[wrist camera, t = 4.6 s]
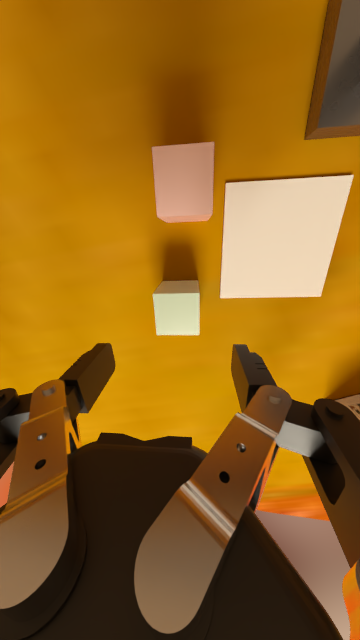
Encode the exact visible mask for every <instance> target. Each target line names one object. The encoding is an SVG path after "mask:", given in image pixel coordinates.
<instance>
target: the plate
mask: <svg viewBox="0 0 360 640" xmlns="http://www.w3.org/2000/svg"><path fill="white" fill-rule="evenodd" d="M353 176H354V175H346V176H330V177H314V178H298V179H282V180H266V181H250V182H234V183H226V184H225V204H224V224H223V244H222V264H221V284H220V298H256V297H321V293H322V289H323V286H324V282H325V278H326V275H327V271H328V267H329V264H330V260H331V256H332V253H333V249H334V245H335V242H336V238H337V234H338V231H339V227H340V224H341V220H342V216H343V213H344V209H345V205H346V202H347V198H348V194H349V191H350V187H351V183H352V180H353Z"/></svg>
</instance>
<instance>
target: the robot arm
mask: <svg viewBox="0 0 360 640" xmlns="http://www.w3.org/2000/svg"><path fill="white" fill-rule="evenodd" d="M114 370H115V360H114V355H113V351H112V346H111V344H110V343H98V344H96V345H95V347H94V348H93V349H92V350H91V351H88V352H86V353H85V354H83V355H82V356H81V357H80V358H79V359H78V360H77V361H76V362H75V363H74V364H73V366H71V367H70V368H69V369H68V370H67V371H66V372H65V373H64V374H63V375H62V376H61V377H60V378H59V379H58V380H51V381H48V382H45V383H43V384H42V385H40V386H38V387H37V388H36V389H35V390H34V391H33V393H29V394H24V395H19V396H18V394H17V392H16V390H15V389H13V388H7V389H2V390H0V478H1V477H2V476H3V475H4V473H5V472H6V470H7V469H8V468H9V467H10V465H11V464H12V463H13V462H14V466H13V472H12V478H11V483H10V489H9V495H8V501H7V503H6V504H5V505H3V506H2V507H1V508H0V640H343V638H342V637H341V635H340V633H339V631H338V629H337V628H336V626H335V624H334V623H333V621H332V619H331V618H330V616H329V615H328V613H327V612H326V610H325V609H324V607H323V606H322V605H321V603H320V602H319V600H318V599H317V598H316V596H315V595H314V594H313V592H312V591H311V590H310V588H309V587H308V585H307V584H306V583H305V581H304V580H303V579H302V577H301V576H300V575H299V573H298V572H297V570H296V569H295V568H294V567H293V565H292V564H291V562H290V561H289V560H288V558H287V557H286V555H285V554H284V553H283V552H282V550H281V549H280V547H279V546H278V544H277V543H276V542H275V540H274V539H273V538H272V536H271V535H270V534H269V532H268V531H267V529H266V528H265V527H264V526H263V524H262V523H261V521H260V520H259V519H258V517H257V516H256V514H255V512H256V509H257V507H258V504H259V502H260V499H261V496H262V493H263V490H264V487H265V484H266V481H267V478H268V476H269V473H270V471H271V468H272V466H273V463H274V461H275V458H276V455H277V453H278V450H279V448H280V447H282V448H285V449H288V450H290V451H293V452H296V453H299V454H302V456H303V459H304V461H305V463H306V466H307V468H308V470H309V473H310V475H311V477H312V480H313V482H314V484H315V487H316V489H317V491H318V494H319V496H320V498H321V501H322V503H323V505H324V508H325V510H326V512H327V515H328V517H329V519H330V522H331V524H332V526H333V529H334V531H335V533H336V535H337V538H338V540H339V543H340V545H341V547H342V550H343V552H344V554H345V556H346V559H347V561H348V564H349V566H350V568H351V569H350V570H349V572H348V573H347V574H346V575H345V576H344V579H343V584H342V590H343V591H342V592H343V598H344V602H345V605H346V609H347V613H348V616H349V622H350V640H360V420H359V419H358V418H357V417H356V415H355V414H354V413H353V412H352V411H351V410H350V409H349V408H347V407H346V406H344V405H343V404H341V403H339V402H337V401H334V400H331V399H323V398H322V399H318V400H316V401H315V402H314V405H309V404H306V403H302V402H298V401H295V400H293V399H291V397H290V395H289V394H288V393H287V392H286V391H285V390H283V389H282V388H279V387H277V385H276V383H275V381H274V380H273V378H272V376H271V374H270V372H269V370H268V369H267V367H266V365H265V363H264V361H263V359H262V358H261V357H260V356H259V355H258V354H256V353H250V352H249V350H248V347H247V345H243V344H234V345H233V351H232V363H231V371H232V377H233V381H234V384H235V388H236V392H237V396H238V400H239V403H240V407H241V411H242V414H240V413H237V414H236V415H235V416H234V417H233V419H232V420H231V421H230V423H229V424H228V426H227V427H226V429H225V430H224V431H223V433H222V434H221V436H220V437H219V438H218V440H217V441H216V443H215V444H214V446H213V447H212V448H211V450H210V451H209V453H206V452H205V451H203V450H201V449H199V448H197V447H195V446H192V437H176V436H167V437H162V438H157V439H152V440H147V441H142V440H139V439H136V438H133V437H131V436H128V435H125V434H118V433H101V434H100V436H99V438H98V440H97V441H95V442H92V443H89V444H86V445H84V446H82V445H81V438H80V431H79V424H78V419H77V415H78V414H79V413H89V411H90V409H91V408H92V406H93V404H94V403H95V401H96V400H97V398H98V396H99V395H100V393H101V392H102V390H103V388H104V387H105V385H106V384H107V382H108V380H109V379H110V377H111V376H112V374H113V372H114Z"/></svg>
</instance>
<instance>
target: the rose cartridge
mask: <svg viewBox="0 0 360 640" xmlns="http://www.w3.org/2000/svg"><path fill="white" fill-rule="evenodd" d="M152 155H153V168H154V181H155V194H156V208H157V217H158V218H160V219H161V220H163V221H165V222H167V223H170V222H191V221H208V219H209V218H210V217H211V215H212V209H213V173H214V142H205V143H192V144H180V145H168V146H156V147H152Z"/></svg>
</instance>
